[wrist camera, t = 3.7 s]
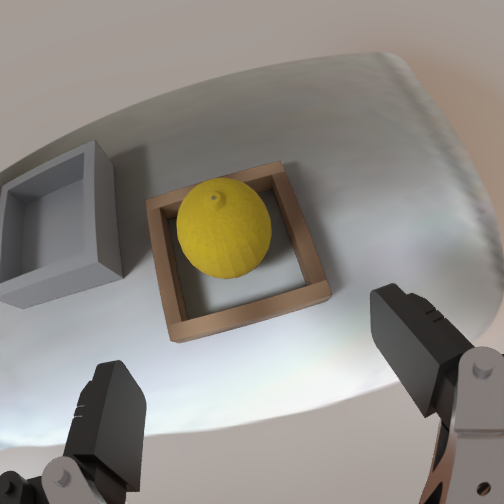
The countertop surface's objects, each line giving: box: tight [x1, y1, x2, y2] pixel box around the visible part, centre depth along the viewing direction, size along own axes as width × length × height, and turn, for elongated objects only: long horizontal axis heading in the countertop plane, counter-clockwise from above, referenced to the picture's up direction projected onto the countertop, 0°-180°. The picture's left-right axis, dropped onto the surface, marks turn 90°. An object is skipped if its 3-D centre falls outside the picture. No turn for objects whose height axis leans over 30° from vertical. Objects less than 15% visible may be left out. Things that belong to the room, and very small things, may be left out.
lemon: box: [176, 178, 272, 279], centre depth 19 cm, size 6×6×8 cm
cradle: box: [145, 161, 332, 343], centre depth 22 cm, size 10×10×2 cm
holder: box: [0, 140, 124, 309], centre depth 22 cm, size 11×11×4 cm
